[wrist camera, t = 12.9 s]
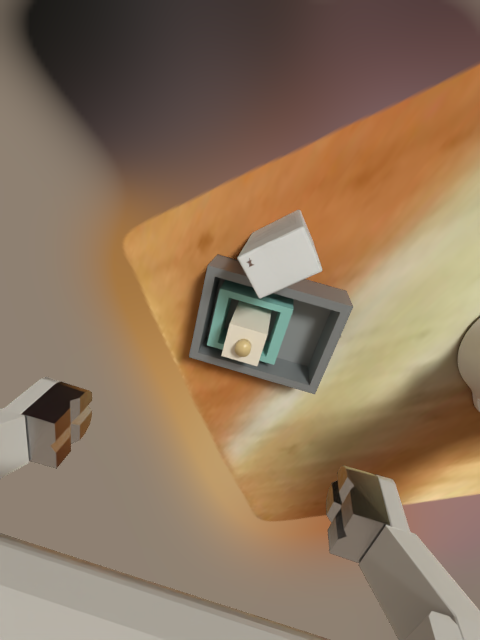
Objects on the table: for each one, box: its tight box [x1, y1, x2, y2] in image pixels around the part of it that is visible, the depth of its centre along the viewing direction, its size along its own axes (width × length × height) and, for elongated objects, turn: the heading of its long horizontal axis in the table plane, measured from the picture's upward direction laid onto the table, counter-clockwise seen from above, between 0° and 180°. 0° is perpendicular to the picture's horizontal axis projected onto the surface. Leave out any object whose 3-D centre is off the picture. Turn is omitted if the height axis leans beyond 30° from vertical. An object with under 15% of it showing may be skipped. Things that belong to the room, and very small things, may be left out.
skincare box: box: [237, 210, 322, 298], centre depth 32 cm, size 6×4×12 cm
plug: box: [221, 301, 272, 366], centre depth 37 cm, size 4×4×9 cm
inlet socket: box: [207, 280, 294, 365], centre depth 39 cm, size 8×8×4 cm
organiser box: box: [189, 255, 353, 394], centre depth 40 cm, size 16×12×5 cm
